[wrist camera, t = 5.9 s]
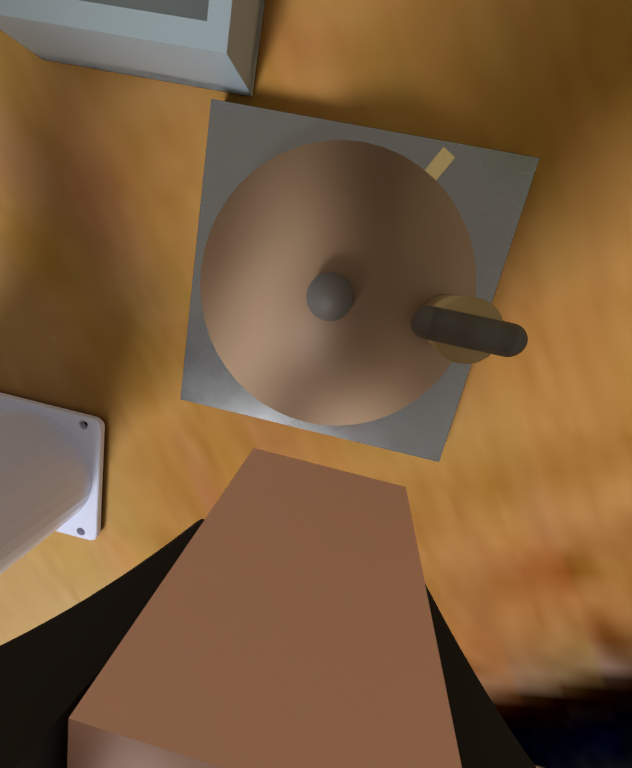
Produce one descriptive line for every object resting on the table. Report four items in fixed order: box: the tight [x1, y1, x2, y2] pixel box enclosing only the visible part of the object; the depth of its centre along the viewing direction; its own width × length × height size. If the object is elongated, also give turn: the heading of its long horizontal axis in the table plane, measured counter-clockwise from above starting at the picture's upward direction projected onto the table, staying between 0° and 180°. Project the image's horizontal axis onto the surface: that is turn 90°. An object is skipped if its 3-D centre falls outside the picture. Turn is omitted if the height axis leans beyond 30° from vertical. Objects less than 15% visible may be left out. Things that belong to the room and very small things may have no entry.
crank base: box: [181, 99, 539, 462], centre depth 17 cm, size 13×13×1 cm
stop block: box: [67, 448, 462, 768], centre depth 8 cm, size 4×4×7 cm
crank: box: [200, 140, 528, 426], centre depth 13 cm, size 12×11×5 cm
